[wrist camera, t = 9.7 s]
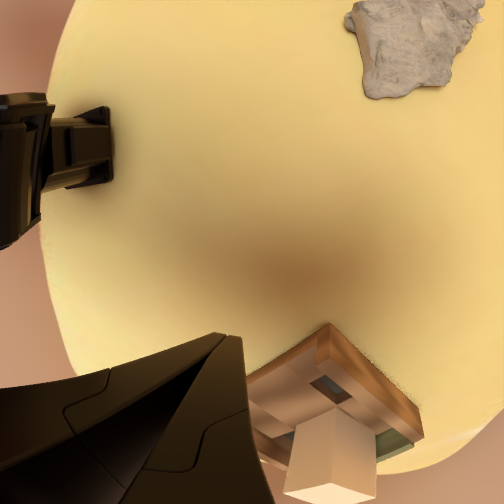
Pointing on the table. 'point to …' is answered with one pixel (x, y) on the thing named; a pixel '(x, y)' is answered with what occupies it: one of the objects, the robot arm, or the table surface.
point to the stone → (410, 41)
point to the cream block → (332, 461)
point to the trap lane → (327, 397)
